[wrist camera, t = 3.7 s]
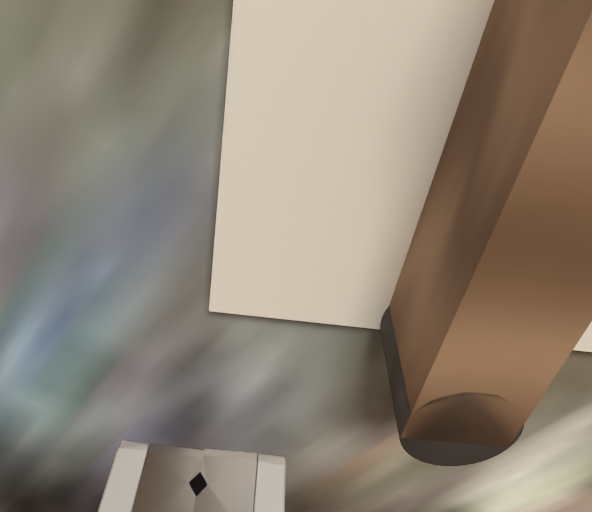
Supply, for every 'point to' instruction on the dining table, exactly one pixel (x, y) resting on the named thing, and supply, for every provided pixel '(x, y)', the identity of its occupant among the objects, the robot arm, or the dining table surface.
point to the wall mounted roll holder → (333, 150)
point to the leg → (499, 242)
